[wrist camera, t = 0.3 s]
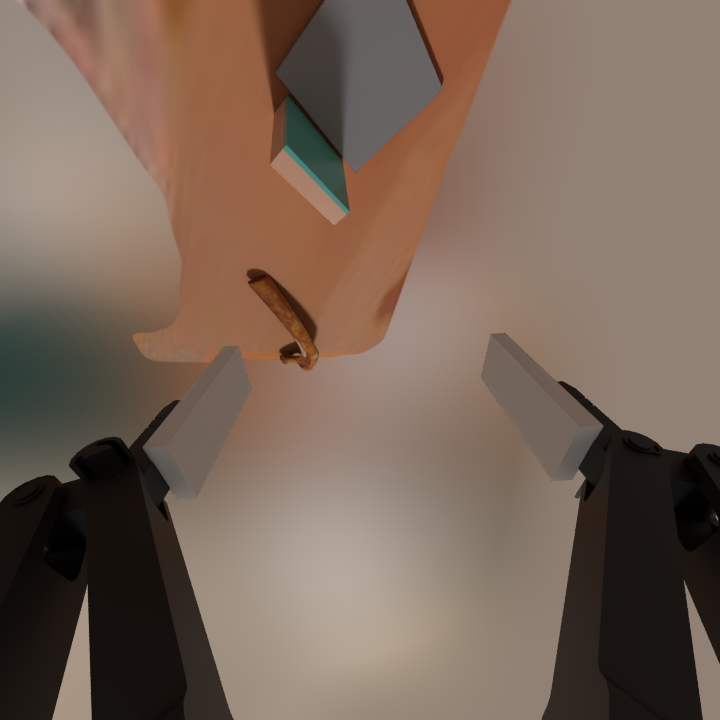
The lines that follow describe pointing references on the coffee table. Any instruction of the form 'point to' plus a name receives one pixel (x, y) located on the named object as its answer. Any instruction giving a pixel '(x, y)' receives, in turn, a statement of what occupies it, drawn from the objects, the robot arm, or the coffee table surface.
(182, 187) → the coffee table surface
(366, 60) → the pad
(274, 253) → the coffee table surface
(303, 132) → the tile
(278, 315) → the brown curved bar
